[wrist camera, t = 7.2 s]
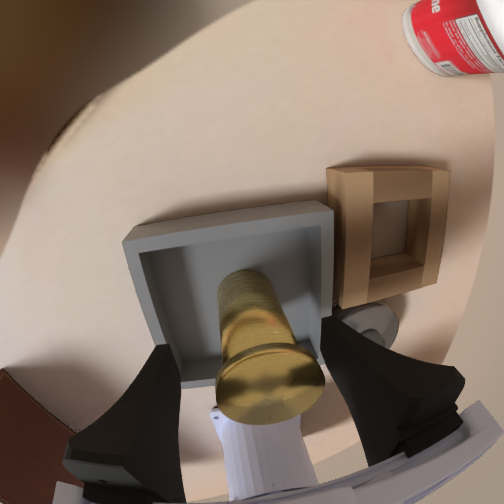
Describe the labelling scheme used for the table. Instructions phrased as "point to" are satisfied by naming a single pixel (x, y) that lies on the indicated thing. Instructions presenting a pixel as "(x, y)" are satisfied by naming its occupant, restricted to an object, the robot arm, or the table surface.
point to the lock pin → (261, 355)
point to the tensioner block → (361, 225)
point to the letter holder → (30, 448)
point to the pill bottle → (457, 35)
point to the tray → (224, 263)
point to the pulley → (371, 321)
